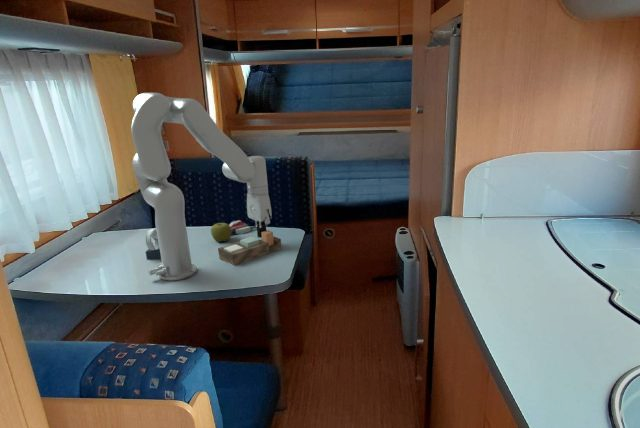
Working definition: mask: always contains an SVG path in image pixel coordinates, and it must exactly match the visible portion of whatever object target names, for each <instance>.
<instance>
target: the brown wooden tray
mask: <svg viewBox="0 0 640 428" xmlns="http://www.w3.org/2000/svg"><path fill="white" fill-rule="evenodd" d="M255 238H256V237H255ZM273 238H274V245H271V246H269V243H267V242H264V241H262V239H259V244H257V245H254V246H251V247H245V246H243V245H241V243H240V241H238V242H234V243H230V244H228V245H224V246H221V247H218V248H217V249H218V258H219V259H220V260H221V261H224V262H226V263H227V262H228V263H227V264H229V263H230V264H229V265H231V264H232V265H231V266H233V265H234V266H237V265H241V264H243V263H245V262H248V261H252V260H254V259H256V258H260V257H262V256H265V255H268V254H270V253H271V254H272V253H274V252H277V251H279V250H280V251H281V250H282V249H283V248H282V239H281V238H278V237H276V236H274V235H273ZM256 239H258V238H256ZM235 244H236V245H238V246H241V247H243V249H242V250H239V251H235V252H232V253H230V252H228V251H226V250H224V248H226V247H229V246H232V245H235Z"/></svg>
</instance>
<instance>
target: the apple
mask: <svg viewBox="0 0 640 428" xmlns="http://www.w3.org/2000/svg"><path fill="white" fill-rule="evenodd" d="M229 225H230V224H228V223H225V222H217V223H214V224H213V225H212V226H211V228H210V232H211V233H210V234H211V236H212V238H213V239H214V241H216V242H227V241H228V240H230V239H231V238H230V237H231V236H232V235H231V228H230V226H229Z"/></svg>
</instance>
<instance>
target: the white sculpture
mask: <svg viewBox="0 0 640 428" xmlns="http://www.w3.org/2000/svg"><path fill="white" fill-rule="evenodd" d="M152 239H153V241H154V244H153V242H152ZM145 245H146V247H147V250H146V251H145V255H146V260H161V254H160V248H159V242H158V236H157V231H156V228H151V229H147V231H146V234H145Z"/></svg>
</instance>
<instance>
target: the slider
mask: <svg viewBox="0 0 640 428" xmlns="http://www.w3.org/2000/svg"><path fill="white" fill-rule="evenodd" d="M261 235H262V238H261V240H262V241H264V242H267V243H269V246H271V245H274V238H273V236H274V232H273V231H272V230H269V229H268V230H267V229H266V231H264V232H261Z"/></svg>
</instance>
